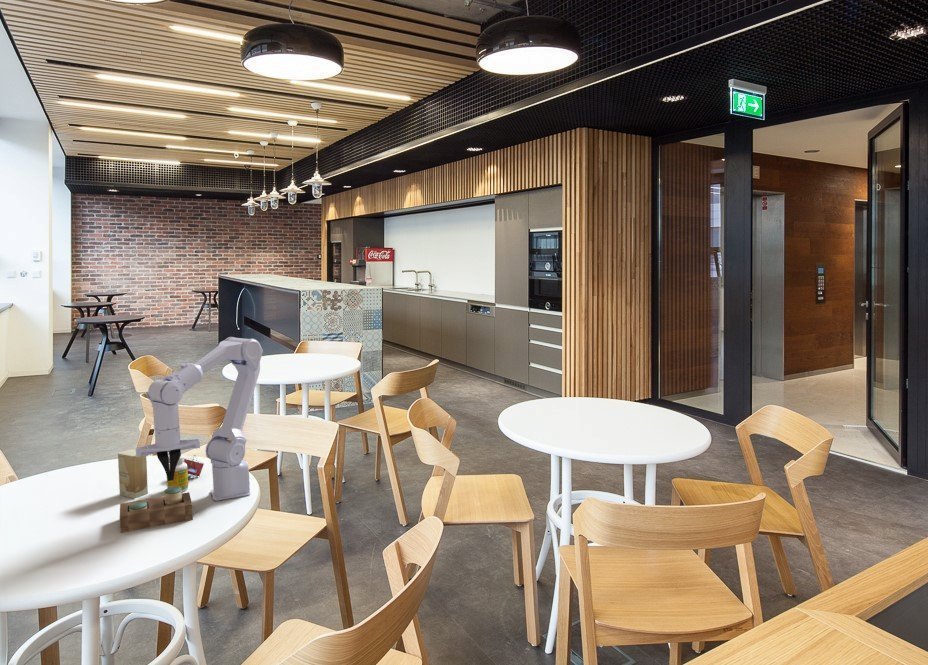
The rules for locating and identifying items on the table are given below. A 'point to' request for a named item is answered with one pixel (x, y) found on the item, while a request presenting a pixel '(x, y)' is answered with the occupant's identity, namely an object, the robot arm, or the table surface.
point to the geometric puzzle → (193, 467)
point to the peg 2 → (173, 495)
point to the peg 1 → (137, 506)
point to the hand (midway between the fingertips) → (170, 479)
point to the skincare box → (132, 474)
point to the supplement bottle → (179, 475)
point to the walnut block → (155, 513)
